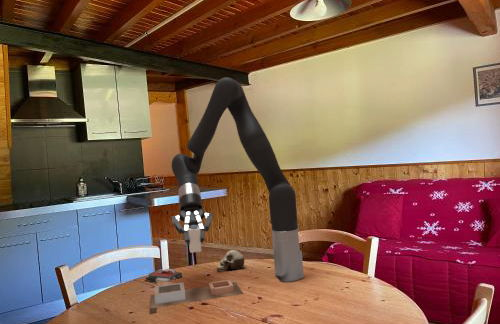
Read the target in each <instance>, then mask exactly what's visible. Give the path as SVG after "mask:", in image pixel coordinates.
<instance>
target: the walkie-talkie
mask: <svg viewBox="0 0 500 324" xmlns="http://www.w3.org/2000/svg"><path fill="white" fill-rule="evenodd" d="M182 274H183V273H182V272H180V271H177V270H176V269H174V268H173V269H172V268H165V269H162V268H161V269H158V270H155V271H154V270H153V271H152V272H150V273H149V274H148V276H147V277H145V281H148V282H150V283H155V284H156V283H158V282H163V283H167V282H169V283H170V282H172V280H177V279H183V275H182ZM180 283H182V282H180Z"/></svg>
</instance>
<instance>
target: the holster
mask: <svg viewBox="0 0 500 324" xmlns="http://www.w3.org/2000/svg"><path fill="white" fill-rule="evenodd" d="M232 283H233V282H232V281H231V279H229V280H227V279H223V280H218V281H217V280H216V281H211V282H209V283H208V286H209V290H210V292H211V295H220V294H227V293H231V292H234V288H233V284H232Z"/></svg>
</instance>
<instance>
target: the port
mask: <svg viewBox="0 0 500 324" xmlns="http://www.w3.org/2000/svg"><path fill="white" fill-rule="evenodd" d="M185 290H186V289H185V283H184V282H182V283H181V282H177V283H169V284H168V283H167V284H162V285H154V294H155V306H156V305H163V304H169V303H176V302H182V301H186V298H185Z"/></svg>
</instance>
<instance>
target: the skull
mask: <svg viewBox="0 0 500 324" xmlns="http://www.w3.org/2000/svg"><path fill="white" fill-rule="evenodd" d="M246 268H247V266H246V265H245V258H244V255H243V254H242V253H241V252H239V251H238V250H236V249H231V250H229V251H227V252H226V254H224V255H223V257H222V259H221V260H220V261H219V265H218V266H217V268H216V270H217V272H219V273H227V272H228V273H229V272H235V271H240V270H241V271H242V270H244V269H246Z"/></svg>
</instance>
